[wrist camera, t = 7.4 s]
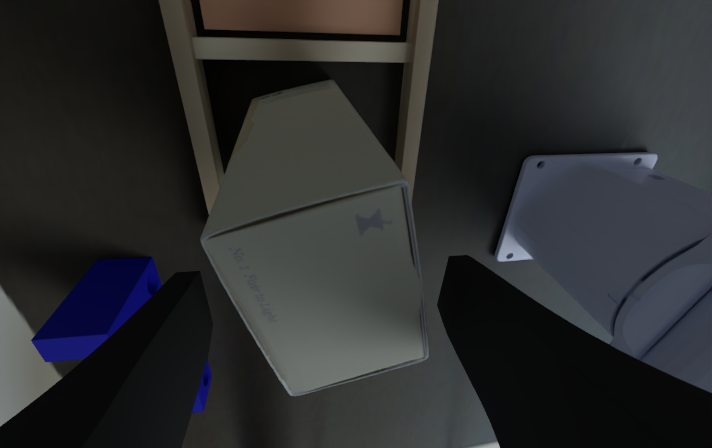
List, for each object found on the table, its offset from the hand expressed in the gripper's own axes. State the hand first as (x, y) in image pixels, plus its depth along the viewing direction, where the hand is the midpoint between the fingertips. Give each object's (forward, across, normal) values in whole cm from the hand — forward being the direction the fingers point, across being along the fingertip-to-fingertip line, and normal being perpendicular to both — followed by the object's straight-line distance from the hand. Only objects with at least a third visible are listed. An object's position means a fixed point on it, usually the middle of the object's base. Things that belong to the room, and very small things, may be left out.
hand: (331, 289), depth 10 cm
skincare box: (+11, 0, -1) cm, 11 cm away
